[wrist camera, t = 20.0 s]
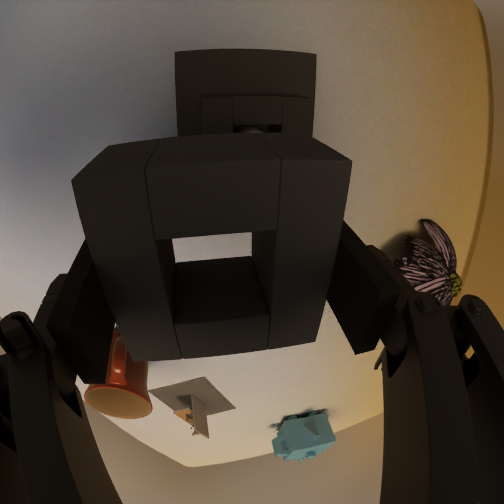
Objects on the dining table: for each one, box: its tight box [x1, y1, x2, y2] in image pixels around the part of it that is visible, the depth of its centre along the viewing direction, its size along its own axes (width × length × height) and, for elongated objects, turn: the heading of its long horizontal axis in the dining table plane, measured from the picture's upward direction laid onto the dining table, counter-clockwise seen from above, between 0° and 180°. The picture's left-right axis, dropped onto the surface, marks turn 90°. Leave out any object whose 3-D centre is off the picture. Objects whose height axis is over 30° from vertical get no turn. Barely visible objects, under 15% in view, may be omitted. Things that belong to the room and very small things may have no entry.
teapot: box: [272, 411, 336, 463], centre depth 60 cm, size 16×18×11 cm
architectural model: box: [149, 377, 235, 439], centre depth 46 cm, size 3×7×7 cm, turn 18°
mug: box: [84, 329, 152, 419], centre depth 32 cm, size 12×9×10 cm
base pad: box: [175, 49, 316, 137], centre depth 20 cm, size 16×12×12 cm
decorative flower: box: [393, 219, 462, 306], centre depth 35 cm, size 15×12×15 cm
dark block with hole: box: [201, 93, 311, 135], centre depth 22 cm, size 8×8×4 cm
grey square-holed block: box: [71, 133, 352, 362], centre depth 11 cm, size 8×8×4 cm
